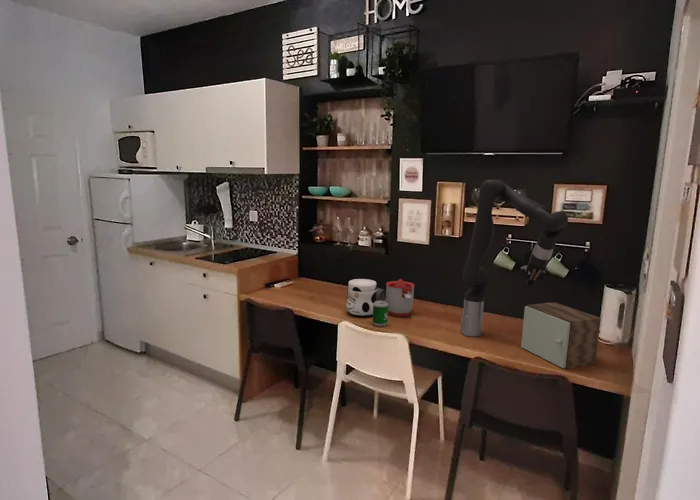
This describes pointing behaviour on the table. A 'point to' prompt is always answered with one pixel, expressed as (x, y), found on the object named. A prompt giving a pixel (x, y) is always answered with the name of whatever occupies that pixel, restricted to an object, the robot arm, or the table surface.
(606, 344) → the table surface
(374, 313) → the soda can
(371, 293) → the milk container
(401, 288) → the citrus juicer
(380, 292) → the bluetooth speaker
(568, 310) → the walnut cabinet
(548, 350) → the sage door
